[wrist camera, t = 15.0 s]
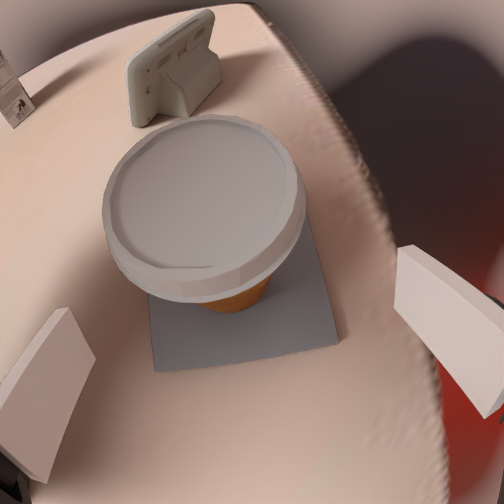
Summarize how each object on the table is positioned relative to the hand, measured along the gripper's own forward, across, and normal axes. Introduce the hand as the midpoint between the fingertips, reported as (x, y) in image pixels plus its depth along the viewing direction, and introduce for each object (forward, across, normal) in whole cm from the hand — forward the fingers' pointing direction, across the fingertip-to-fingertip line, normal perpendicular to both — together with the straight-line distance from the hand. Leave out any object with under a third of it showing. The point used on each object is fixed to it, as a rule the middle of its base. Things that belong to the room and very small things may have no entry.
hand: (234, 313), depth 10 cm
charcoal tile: (+13, 0, -5) cm, 13 cm away
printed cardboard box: (+42, -39, +24) cm, 63 cm away
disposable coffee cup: (+12, -1, -4) cm, 13 cm away
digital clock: (+31, -4, +14) cm, 34 cm away
